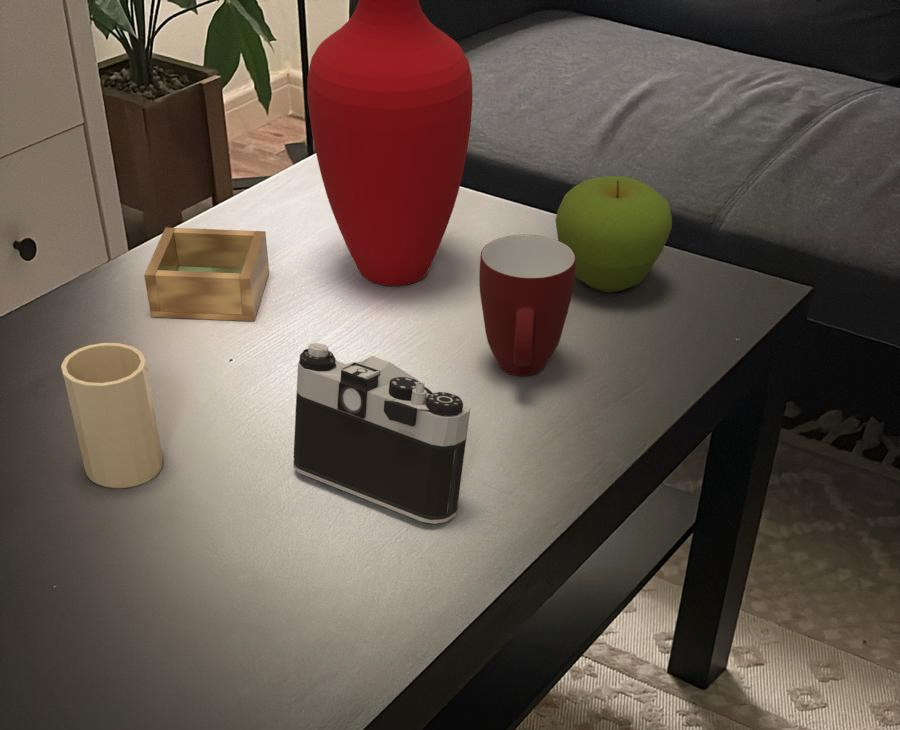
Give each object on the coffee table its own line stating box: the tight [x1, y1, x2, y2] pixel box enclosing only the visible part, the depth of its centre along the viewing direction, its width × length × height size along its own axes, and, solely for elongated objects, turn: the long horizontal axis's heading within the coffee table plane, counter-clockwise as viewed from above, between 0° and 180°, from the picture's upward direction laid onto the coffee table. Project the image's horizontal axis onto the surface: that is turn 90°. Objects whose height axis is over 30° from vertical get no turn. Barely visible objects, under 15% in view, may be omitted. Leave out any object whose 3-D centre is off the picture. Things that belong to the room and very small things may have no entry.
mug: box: [478, 234, 576, 377], centre depth 110 cm, size 11×8×10 cm
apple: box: [555, 175, 673, 294], centre depth 121 cm, size 11×10×10 cm
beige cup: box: [60, 342, 164, 489], centre depth 100 cm, size 6×6×9 cm
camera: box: [292, 342, 471, 525], centre depth 100 cm, size 15×11×10 cm
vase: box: [306, 0, 473, 287], centre depth 115 cm, size 15×15×30 cm
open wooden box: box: [143, 227, 270, 322], centre depth 121 cm, size 10×10×4 cm
